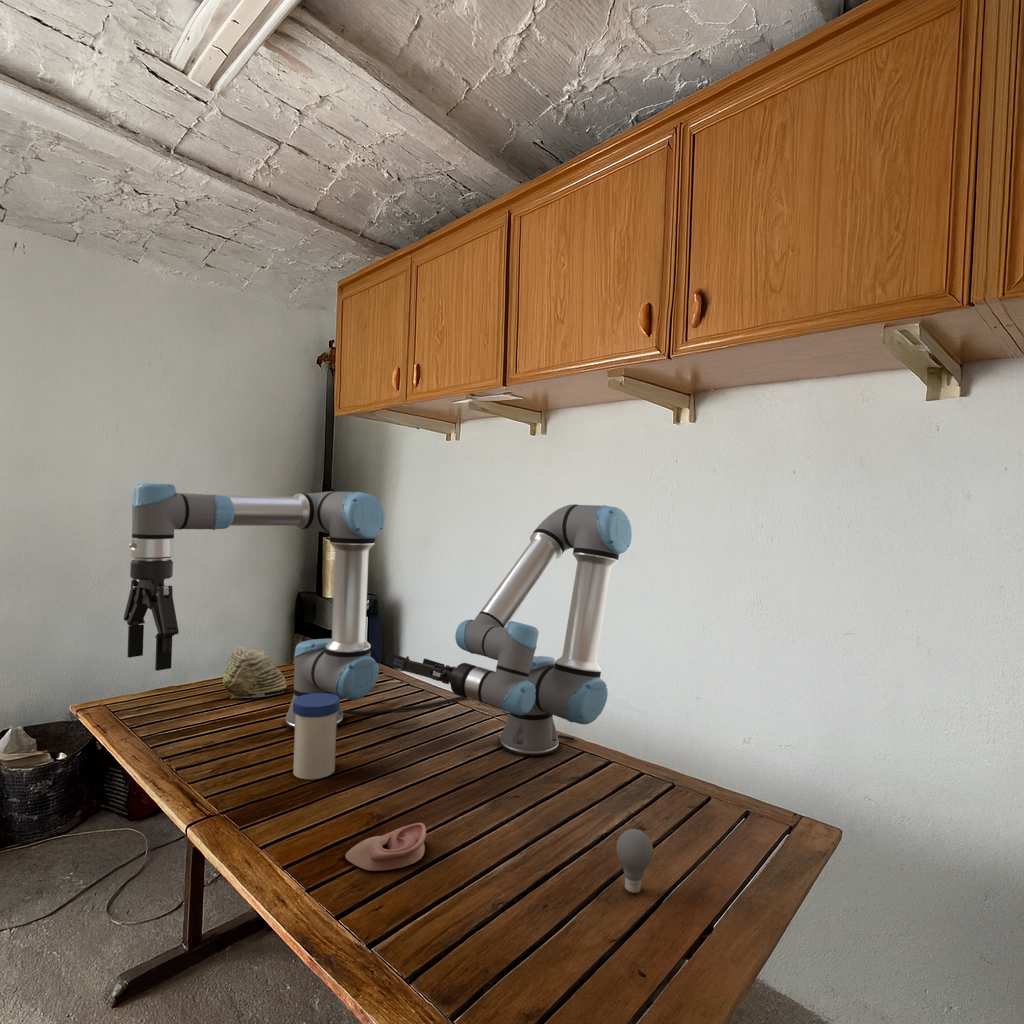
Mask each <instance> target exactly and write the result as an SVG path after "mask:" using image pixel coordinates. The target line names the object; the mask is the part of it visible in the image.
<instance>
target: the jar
mask: <svg viewBox="0 0 1024 1024" xmlns="http://www.w3.org/2000/svg"><path fill="white" fill-rule="evenodd" d="M337 727H338V726H337V712H336V713H334V714H331V715H327V716H322V717H304V716H299V715H297V714H295V730H294V731H293V734H294V735H293V759H292V760H293V761H292V774H293V776H294V777H296V778H298V779H301V780H320V779H324V778H326V777H329V776H331V775H332V774H333V773H334V772H335V771H336V753H337Z"/></svg>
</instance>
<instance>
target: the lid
mask: <svg viewBox="0 0 1024 1024" xmlns="http://www.w3.org/2000/svg"><path fill="white" fill-rule="evenodd" d="M340 706H341V702H340V697H338V696H336V695H334V694H329V693H311V694H306V695H302V696H299V697H297V698H295V699H294V703H293V712H294V713H295V714H297V715H299V716H304V717H322V716H327V715H331V714H334V713H336V712H337V711H338V710H339V708H340Z"/></svg>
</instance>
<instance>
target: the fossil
mask: <svg viewBox="0 0 1024 1024" xmlns="http://www.w3.org/2000/svg"><path fill="white" fill-rule="evenodd" d="M222 676H223V677H222V685H223V687H224V688H225V690H226V691H228V693H229V698H230V699H250V698H264V697H271V696H275V695H281V694H284V693H285V691H286V689H287V687H288V686H287V680H286V678H285V676H284V674H283V673H282V672H281V669H279V668H278V667H277V665H276V663H275V662H274V660H273V659H272V658H271V657H270V656H269V655H268V654H267V653H266V652H265V650H264V649H263V648H260V647H258V648H251V647H247V646H246V647H245V646H238V647H237V648H236V649H235V650H233V651H232V653H231V656H230V657H229V659H228V660H227V663H226V666H225V668H224V671H223V675H222Z"/></svg>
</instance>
